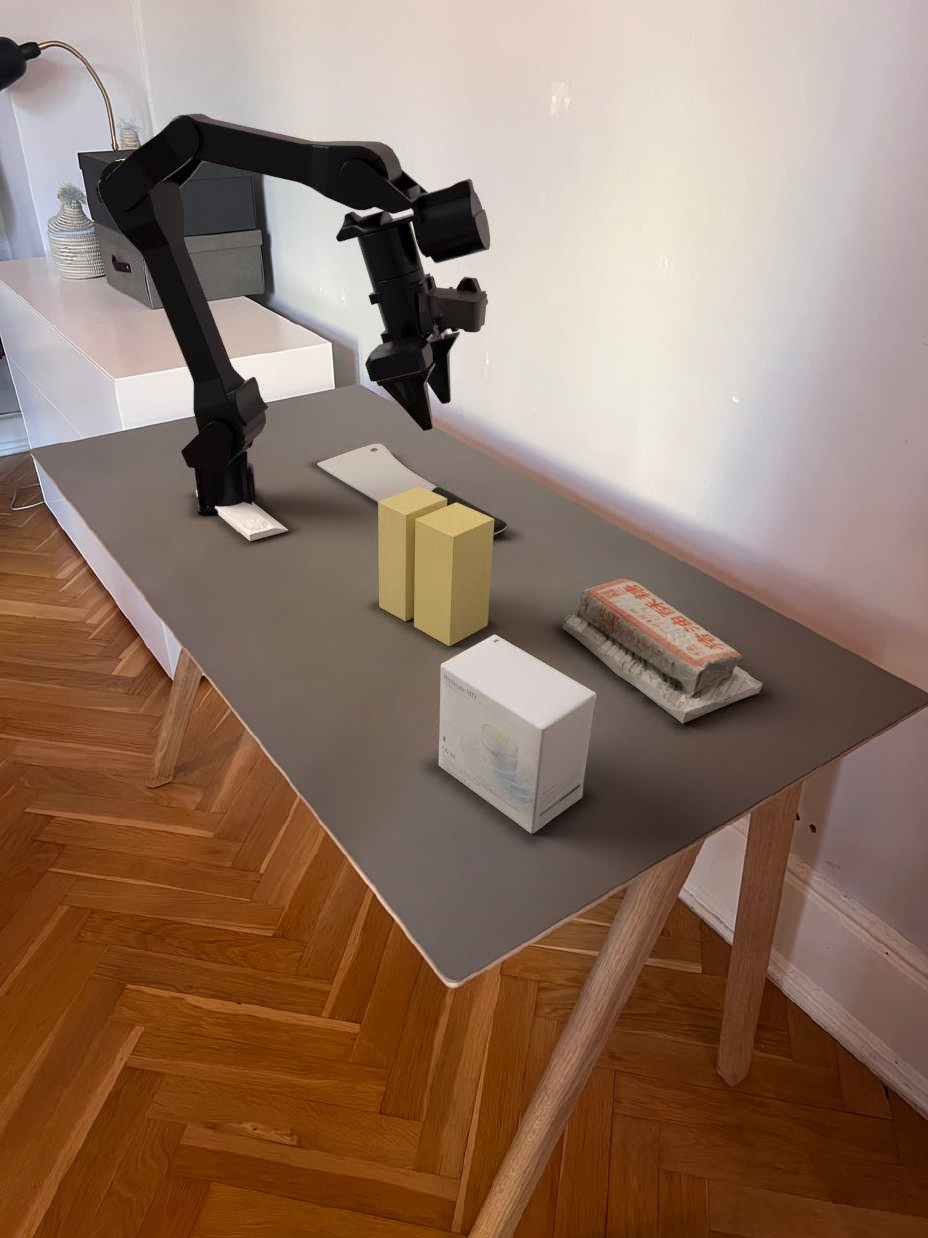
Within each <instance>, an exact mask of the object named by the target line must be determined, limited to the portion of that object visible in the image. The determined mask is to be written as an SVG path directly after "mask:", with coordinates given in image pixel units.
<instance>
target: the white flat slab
mask: <svg viewBox="0 0 928 1238" xmlns="http://www.w3.org/2000/svg"><path fill="white" fill-rule="evenodd" d="M195 494H196V495H195V496H196V497H197V498H198V494H197V489H195ZM215 509H217V510H218V514H217V515H218V516H219V517H220V518H222V519H223V520H224V521H225V522H226V523H227V524H229V525H230V526H231V527H232V528H233V529H234V530H235V531H236V532H237V533H240V534H241V535H242V536H243V537H244V538H245V539H247V540H248V541H249V542H252V541H255V540H259V539H263V538H267V537H270V536H274V535H278V534H281V533H285V532H289V529H288V528H286V527H285V526H284V525H283V524H282V523H280V522H279V521H277V520H276V519H275V518H273V516H271V515H270V514H268V512H266V511H264V509H262V508H261V507H260V506H258V505H257V504H256V503H255V502H252V505H250V504H248V503H245V502H242V503H240V504H237V505H233V506H223V507H221V506H220V507H219V506H215Z"/></svg>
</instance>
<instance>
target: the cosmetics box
mask: <svg viewBox="0 0 928 1238" xmlns="http://www.w3.org/2000/svg"><path fill="white" fill-rule="evenodd" d="M439 687H440V692H439V693H440V694H439V733H438V735H439V737H438V767H440V768H441V769H442V770H444V771H445V772H446V773H448V774H449V775H450V776H452V777H453V778H455V779H456V780H457V781H459V782H460V783H462V784H463V785H464V786H466V787H467V788H468V789H469V790H471V791H472V792H473V793H475V794H476V795H478V796H479V797H481V798H482V799H483V800H484V801H486V802H487V803H489V804H490V805H491V806H493V807H494V808H496V809H497V810H498V811H499V812H501V813H502V814H504V815H505V816H506V817H508V818H509V819H510V820H512V821H513V822H514V823H516V824H517V825H518V826H520V827H521V828H523V829H524V830H525V831H527V832H528V833H529V834H535V833H536V832H537V831H539V830H540V829H542V828H543V827H545V825H547V824H548V823H549V822H551V821H552V820H553V819H555V818H556V817H558V816H559V815H561V813H563V812H564V811H565V810H567V809H568V808H570V807H571V806H572V805H575V803H577V802H578V801H579V800H581V799H582V798H583V795H584V785H585V775H586V769H587V768H586V767H587V762H588V753H589V747H590V739H591V733H592V727H593V720H594V713H595V707H596V702H597V697H598V695H597V692H595V691H594V690H592V689H590V688H588V687H587V686H585V685H583V684H582V683H580V682H579V681H576V680H575V679H573V678H571V677H570V676H568V675H566V674H564V673H562V672H560V671H559V670H557V669H555V668H553V667H552V666H550V665H549V664H547V663H545V662H543V661H542V660H540V659H538V658H537V657H535V656H533V655H531V654H530V653H528V652H526V651H525V650H523V649H521V648H519V647H518V646H516V645H514V644H512V643H511V642H509V641H507V640H506V639H504V638H502V637H501V636H499V635H497V634H492V635H490V636H489V637H487V638H486V639H483V640H482V641H479V642H478V643H476V644H474V645H472V646H470V647H469V648H467V649H465V650H464V651H461V652H460V653H458V654H456V655H454V656H452V657H451V658H449V659H447V660H446V661H443V662H442V663H441V664H440V685H439Z"/></svg>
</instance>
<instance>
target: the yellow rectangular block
mask: <svg viewBox="0 0 928 1238" xmlns="http://www.w3.org/2000/svg"><path fill="white" fill-rule="evenodd" d="M377 506H378V507H377V511H378V515H377V516H378V517H377V518H378V519H377V520H378V523H377V524H378V607H379V608H380V609H382V610H384V611H386V612H387V613H389V614H391V615H393V616H395V617H396V618H398V619H400V620H402V621H404V622H408V621H409V620H412V619H414V594H415V524H416V519H417V518H419V517H422V516H424V515H427V514H429V513H432V512H434V511H436V510H439V509H441V508H444V507H446V506H447V498H445V497H443V496H440V495H438V494H436V493H434V492H431V491H429V490H427V489H424V488H422V487H420V486H418V487H416V488H413V489H410V490H408V491H405V492H403V493H400V494H397V495H395V496H392V497H389V498H387V499H384V500H381V501H379V502H378V503H377Z"/></svg>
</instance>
